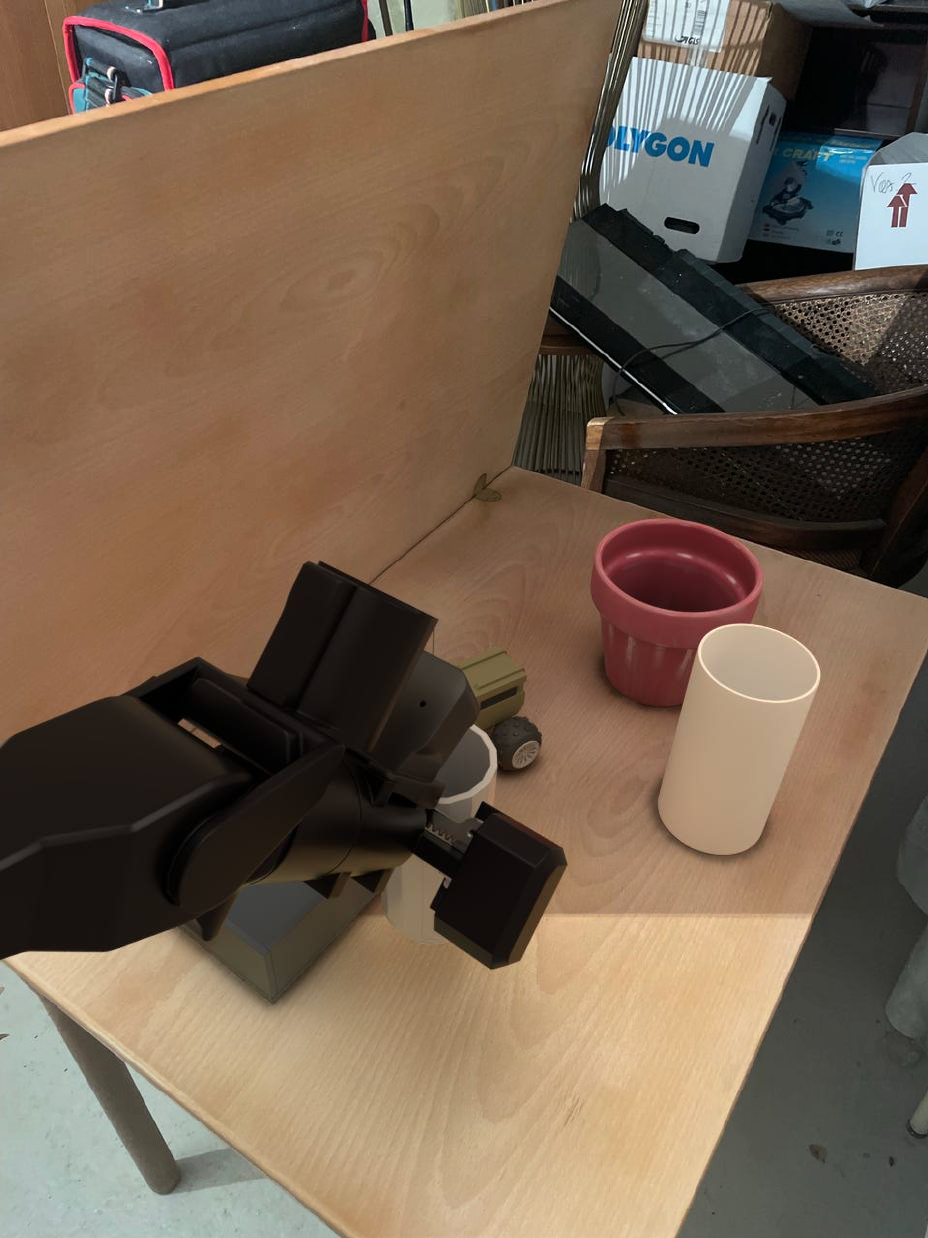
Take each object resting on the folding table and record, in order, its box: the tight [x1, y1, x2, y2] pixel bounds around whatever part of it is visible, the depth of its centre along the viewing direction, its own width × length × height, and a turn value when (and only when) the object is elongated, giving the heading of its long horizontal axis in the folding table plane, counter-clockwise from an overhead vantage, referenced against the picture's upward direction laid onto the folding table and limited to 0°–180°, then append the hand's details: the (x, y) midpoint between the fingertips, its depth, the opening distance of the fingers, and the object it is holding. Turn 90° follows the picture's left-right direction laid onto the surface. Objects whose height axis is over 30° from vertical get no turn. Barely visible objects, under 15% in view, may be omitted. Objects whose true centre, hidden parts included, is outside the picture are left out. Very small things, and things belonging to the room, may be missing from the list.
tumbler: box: [380, 724, 498, 946], centre depth 52 cm, size 6×6×13 cm
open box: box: [177, 878, 379, 1004], centre depth 63 cm, size 12×12×6 cm
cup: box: [657, 623, 821, 856], centre depth 66 cm, size 8×8×16 cm
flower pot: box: [590, 518, 764, 707], centre depth 80 cm, size 14×14×13 cm
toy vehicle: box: [432, 629, 543, 771], centre depth 72 cm, size 10×11×12 cm
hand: (449, 817), depth 53 cm, fingers closed on tumbler, 6 cm apart
